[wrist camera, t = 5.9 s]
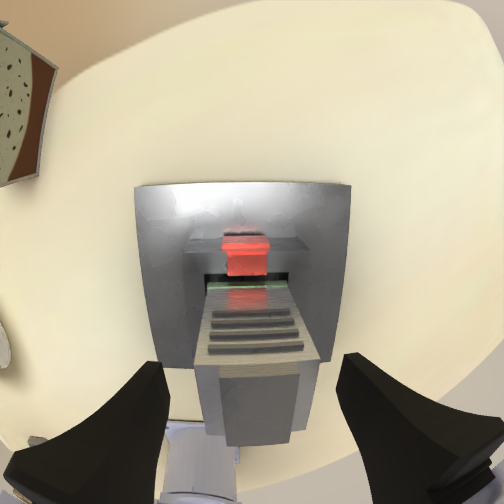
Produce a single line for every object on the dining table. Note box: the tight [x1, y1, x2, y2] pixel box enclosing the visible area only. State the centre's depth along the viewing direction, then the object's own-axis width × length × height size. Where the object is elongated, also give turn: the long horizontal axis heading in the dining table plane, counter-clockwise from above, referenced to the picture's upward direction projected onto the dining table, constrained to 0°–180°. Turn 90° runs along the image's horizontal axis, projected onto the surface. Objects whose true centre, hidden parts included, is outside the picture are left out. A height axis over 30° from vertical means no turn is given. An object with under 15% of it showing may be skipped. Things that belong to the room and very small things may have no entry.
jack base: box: [134, 182, 351, 369], centre depth 17 cm, size 14×14×5 cm
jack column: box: [194, 280, 320, 447], centre depth 11 cm, size 4×4×7 cm
